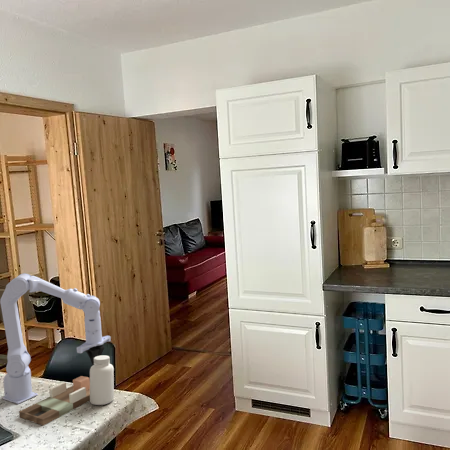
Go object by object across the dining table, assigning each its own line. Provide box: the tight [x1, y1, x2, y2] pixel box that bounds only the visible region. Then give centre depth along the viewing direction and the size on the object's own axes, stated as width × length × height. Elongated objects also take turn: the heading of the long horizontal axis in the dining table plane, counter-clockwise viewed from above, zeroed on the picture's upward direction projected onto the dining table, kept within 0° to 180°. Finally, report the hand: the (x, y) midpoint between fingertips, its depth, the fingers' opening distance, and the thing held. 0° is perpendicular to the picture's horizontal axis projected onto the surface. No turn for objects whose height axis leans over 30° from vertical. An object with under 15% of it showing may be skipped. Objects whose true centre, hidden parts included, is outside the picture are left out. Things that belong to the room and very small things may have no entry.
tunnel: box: [49, 381, 86, 404], centre depth 153 cm, size 11×6×3 cm, turn 59°
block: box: [72, 375, 90, 391], centre depth 158 cm, size 4×4×4 cm
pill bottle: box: [89, 355, 115, 406], centre depth 152 cm, size 8×8×15 cm
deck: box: [18, 385, 90, 427], centre depth 151 cm, size 12×24×2 cm, turn 149°
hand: (95, 365), depth 164 cm, fingers closed
